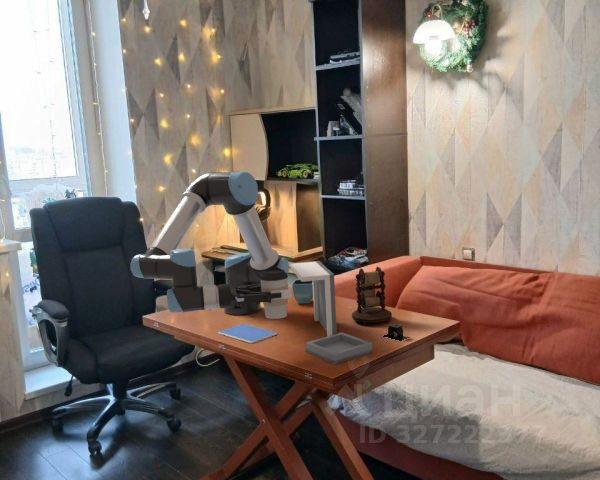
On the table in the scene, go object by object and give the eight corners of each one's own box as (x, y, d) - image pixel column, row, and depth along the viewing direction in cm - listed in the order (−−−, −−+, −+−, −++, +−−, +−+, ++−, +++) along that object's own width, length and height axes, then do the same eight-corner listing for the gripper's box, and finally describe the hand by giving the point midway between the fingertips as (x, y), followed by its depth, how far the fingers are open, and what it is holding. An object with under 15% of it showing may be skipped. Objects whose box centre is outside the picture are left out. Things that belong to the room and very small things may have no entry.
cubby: (293, 322, 220) (290, 263, 217) (322, 319, 222) (319, 261, 218) (305, 342, 197) (301, 277, 193) (337, 339, 199) (334, 274, 195)
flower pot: (295, 299, 253) (294, 279, 251) (316, 299, 251) (315, 279, 250) (292, 305, 244) (291, 284, 243) (313, 305, 243) (312, 283, 241)
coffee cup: (286, 320, 182) (284, 272, 180) (258, 319, 184) (255, 273, 182) (293, 311, 191) (290, 266, 188) (266, 311, 193) (263, 267, 190)
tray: (306, 351, 188) (305, 342, 188) (342, 340, 196) (342, 332, 196) (335, 364, 176) (334, 354, 175) (372, 352, 184) (372, 343, 184)
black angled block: (417, 339, 195) (416, 326, 195) (403, 345, 191) (402, 332, 190) (388, 332, 205) (387, 319, 204) (374, 337, 200) (373, 324, 199)
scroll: (382, 312, 227) (380, 262, 223) (398, 323, 213) (397, 269, 209) (346, 317, 223) (344, 266, 219) (360, 328, 209) (358, 273, 205)
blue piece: (217, 334, 212) (216, 331, 212) (243, 326, 221) (243, 322, 221) (251, 345, 198) (251, 342, 198) (278, 336, 207) (278, 332, 207)
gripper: (217, 299, 194) (285, 293, 198) (219, 317, 174) (295, 310, 177) (216, 277, 193) (284, 271, 197) (217, 292, 172) (293, 286, 176)
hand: (289, 290), depth 187 cm, fingers closed on coffee cup, 8 cm apart
